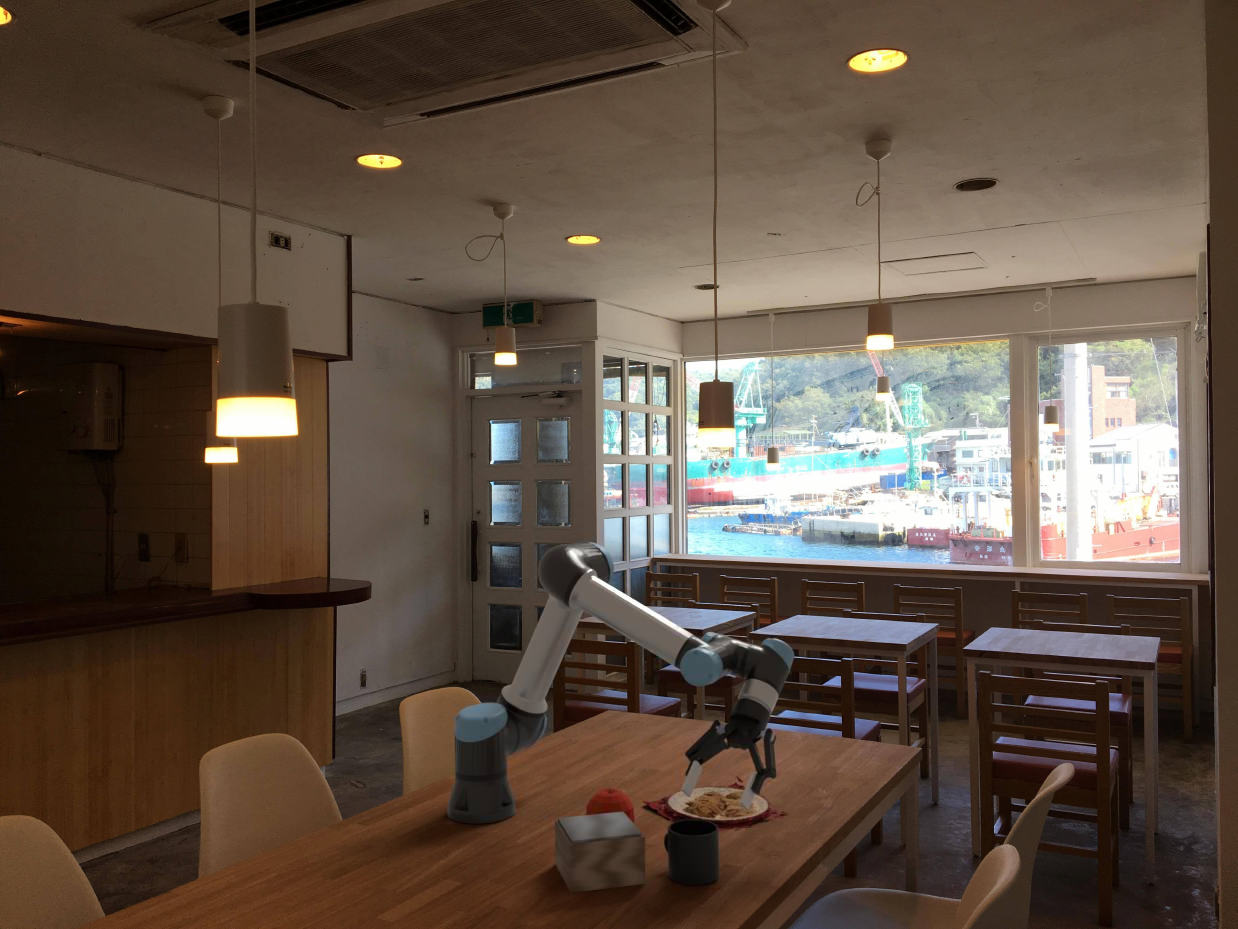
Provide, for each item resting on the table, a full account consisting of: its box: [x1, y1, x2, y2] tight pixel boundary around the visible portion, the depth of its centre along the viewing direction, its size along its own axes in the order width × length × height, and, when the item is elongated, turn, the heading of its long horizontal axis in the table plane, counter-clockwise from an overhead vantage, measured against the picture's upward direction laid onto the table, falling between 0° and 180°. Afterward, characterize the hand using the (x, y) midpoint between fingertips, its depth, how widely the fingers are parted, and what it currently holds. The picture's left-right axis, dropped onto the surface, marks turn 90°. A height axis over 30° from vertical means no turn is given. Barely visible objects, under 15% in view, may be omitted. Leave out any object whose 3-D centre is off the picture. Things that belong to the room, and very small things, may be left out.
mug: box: [663, 819, 720, 886], centre depth 185 cm, size 9×12×9 cm
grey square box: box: [554, 812, 646, 893], centre depth 186 cm, size 14×14×9 cm
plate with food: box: [642, 775, 790, 832], centre depth 222 cm, size 25×26×4 cm
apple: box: [585, 787, 636, 823], centre depth 202 cm, size 10×10×12 cm
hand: (713, 799), depth 191 cm, fingers open, 13 cm apart
